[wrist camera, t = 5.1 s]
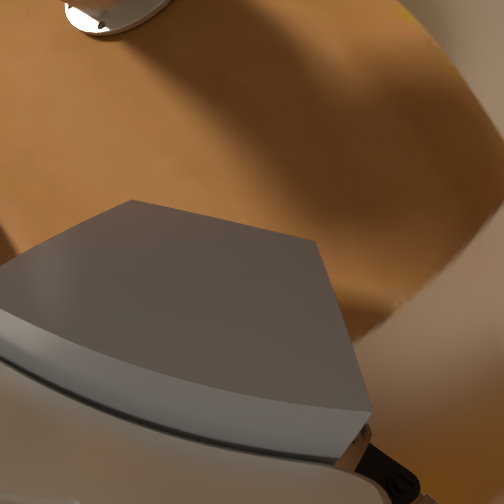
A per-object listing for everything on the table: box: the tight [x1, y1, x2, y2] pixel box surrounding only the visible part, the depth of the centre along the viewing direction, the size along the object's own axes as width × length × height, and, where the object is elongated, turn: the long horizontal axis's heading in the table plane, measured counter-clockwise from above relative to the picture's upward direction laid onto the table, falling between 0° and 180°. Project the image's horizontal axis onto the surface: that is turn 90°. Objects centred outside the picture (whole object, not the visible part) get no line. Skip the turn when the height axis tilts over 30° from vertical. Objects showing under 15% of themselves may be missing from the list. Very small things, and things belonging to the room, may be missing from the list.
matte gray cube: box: [0, 200, 373, 466], centre depth 10 cm, size 8×8×9 cm
